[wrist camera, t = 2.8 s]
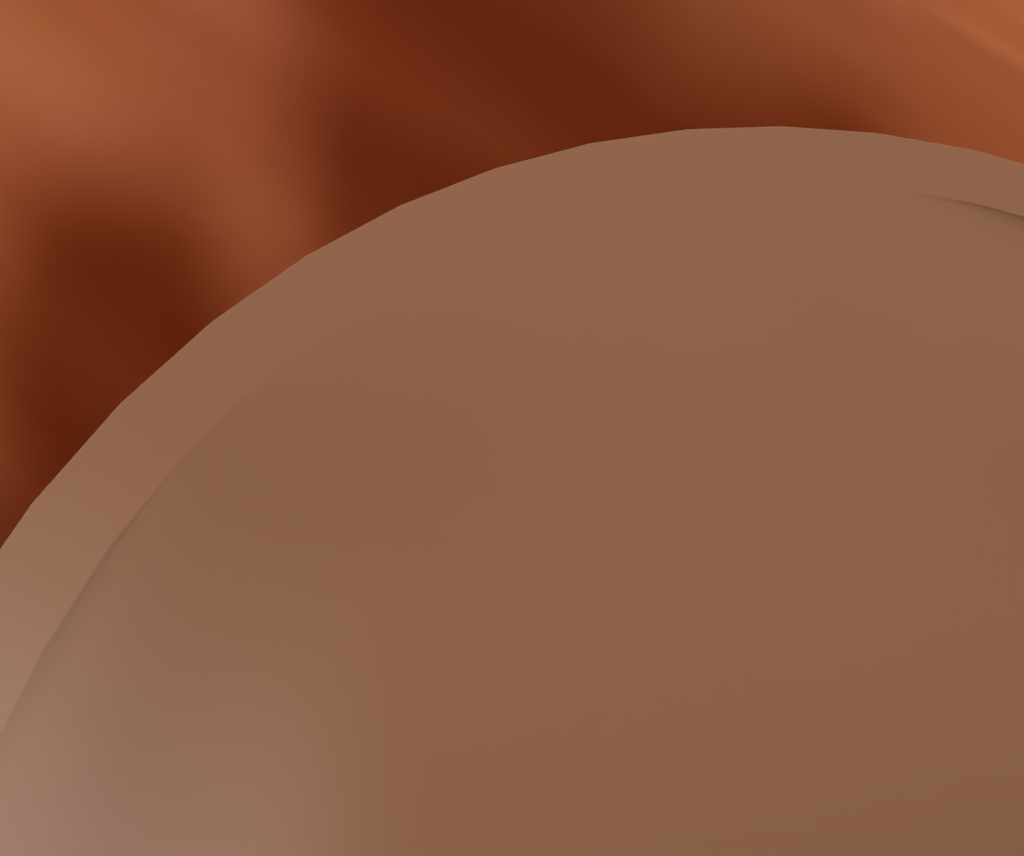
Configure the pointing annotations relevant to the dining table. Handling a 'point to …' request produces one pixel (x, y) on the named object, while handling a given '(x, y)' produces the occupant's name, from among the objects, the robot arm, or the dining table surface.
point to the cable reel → (559, 529)
